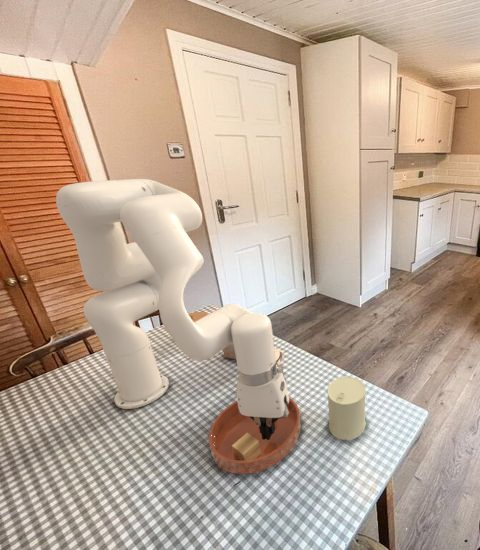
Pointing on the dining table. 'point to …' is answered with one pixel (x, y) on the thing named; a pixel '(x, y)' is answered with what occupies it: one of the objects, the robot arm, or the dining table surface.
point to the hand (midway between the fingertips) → (268, 434)
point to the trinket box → (197, 315)
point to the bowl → (236, 426)
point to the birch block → (246, 448)
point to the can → (346, 407)
